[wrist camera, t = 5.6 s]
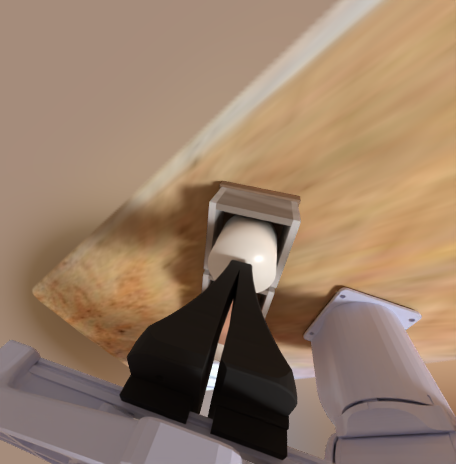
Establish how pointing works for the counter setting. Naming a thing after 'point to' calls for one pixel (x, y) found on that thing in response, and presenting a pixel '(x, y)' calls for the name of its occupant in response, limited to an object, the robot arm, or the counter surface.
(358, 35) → the counter surface
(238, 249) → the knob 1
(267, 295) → the mount
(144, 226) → the counter surface
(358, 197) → the counter surface
